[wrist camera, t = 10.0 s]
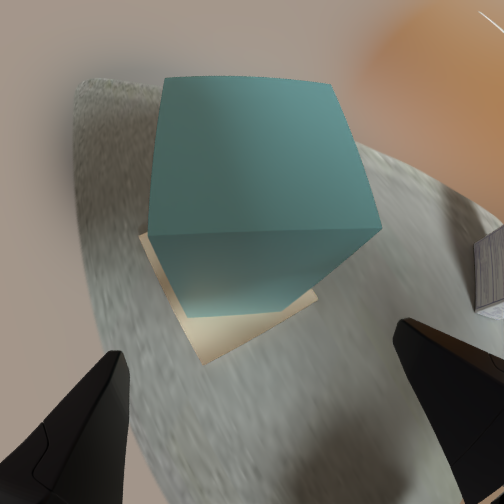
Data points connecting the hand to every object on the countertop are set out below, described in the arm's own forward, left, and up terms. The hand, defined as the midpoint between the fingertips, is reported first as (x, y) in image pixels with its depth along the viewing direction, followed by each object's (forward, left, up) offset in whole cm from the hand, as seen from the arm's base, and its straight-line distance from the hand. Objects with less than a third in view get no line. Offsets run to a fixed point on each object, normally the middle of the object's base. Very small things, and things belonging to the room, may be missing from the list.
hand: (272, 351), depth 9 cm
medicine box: (-8, -25, -12) cm, 29 cm away
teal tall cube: (+5, -2, -11) cm, 12 cm away
